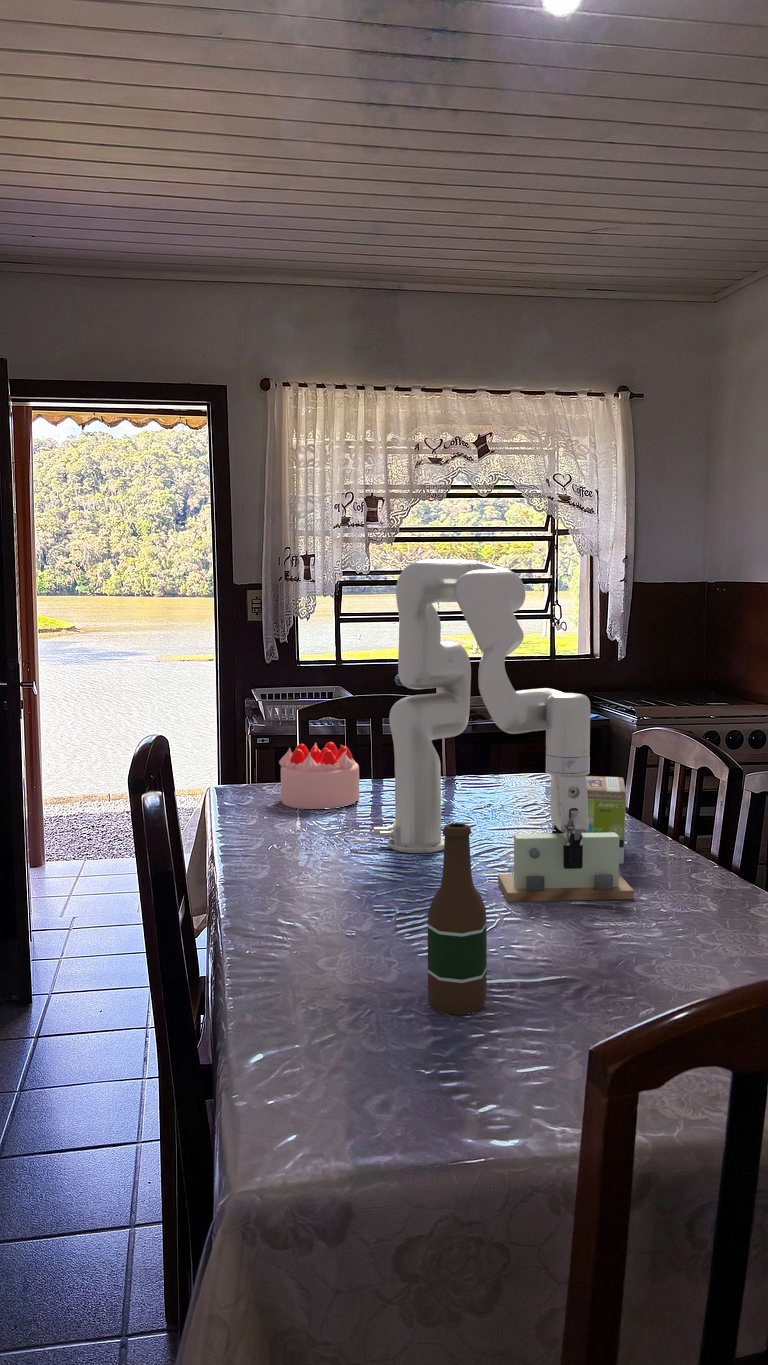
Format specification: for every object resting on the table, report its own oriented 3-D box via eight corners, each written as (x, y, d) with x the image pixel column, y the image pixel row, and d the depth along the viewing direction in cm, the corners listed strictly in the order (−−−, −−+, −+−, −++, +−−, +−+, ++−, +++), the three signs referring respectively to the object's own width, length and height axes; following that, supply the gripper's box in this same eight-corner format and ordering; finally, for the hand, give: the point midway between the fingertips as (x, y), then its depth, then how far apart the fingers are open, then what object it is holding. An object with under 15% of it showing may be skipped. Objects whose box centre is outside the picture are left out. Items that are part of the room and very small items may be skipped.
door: (517, 890, 171) (517, 840, 170) (513, 883, 175) (513, 834, 174) (620, 888, 172) (621, 838, 171) (614, 881, 176) (614, 832, 175)
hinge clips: (527, 891, 171) (527, 877, 171) (521, 881, 177) (521, 867, 176) (612, 889, 171) (613, 875, 171) (604, 879, 177) (604, 866, 177)
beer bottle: (424, 992, 133) (423, 818, 131) (481, 990, 134) (481, 817, 131) (431, 1018, 126) (430, 833, 123) (492, 1015, 126) (492, 831, 124)
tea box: (625, 865, 191) (626, 790, 190) (572, 863, 193) (573, 788, 192) (622, 845, 206) (623, 775, 204) (573, 842, 208) (574, 773, 206)
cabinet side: (507, 901, 170) (507, 893, 170) (498, 882, 181) (498, 874, 181) (633, 899, 171) (633, 890, 171) (616, 879, 182) (616, 871, 182)
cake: (357, 810, 238) (357, 752, 237) (275, 811, 239) (274, 753, 237) (360, 793, 258) (360, 739, 256) (284, 793, 258) (283, 740, 257)
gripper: (601, 773, 163) (600, 874, 165) (577, 755, 180) (576, 846, 182) (556, 774, 163) (555, 875, 165) (537, 755, 180) (536, 847, 182)
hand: (566, 860), depth 174 cm, fingers open, 9 cm apart
